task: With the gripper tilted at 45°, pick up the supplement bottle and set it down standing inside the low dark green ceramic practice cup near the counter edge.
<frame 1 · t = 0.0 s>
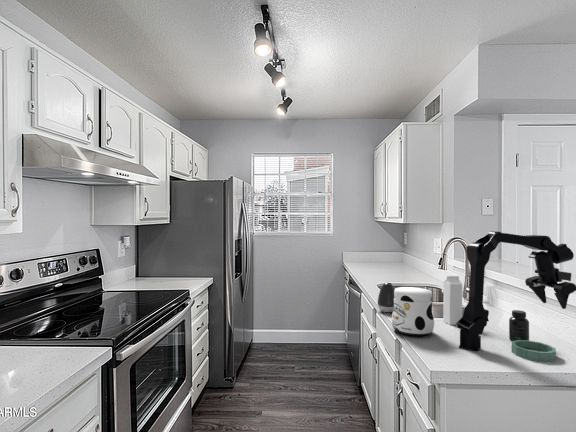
hand: (554, 305, 142), 15 cm above the counter, tool pointing down, fingers open, 9 cm apart
supplement bottle: (518, 341, 147), on the counter
black canister: (387, 311, 192), on the counter
milk container: (412, 332, 157), on the counter
milk: (452, 323, 172), on the counter
practice cup: (533, 354, 132), on the counter
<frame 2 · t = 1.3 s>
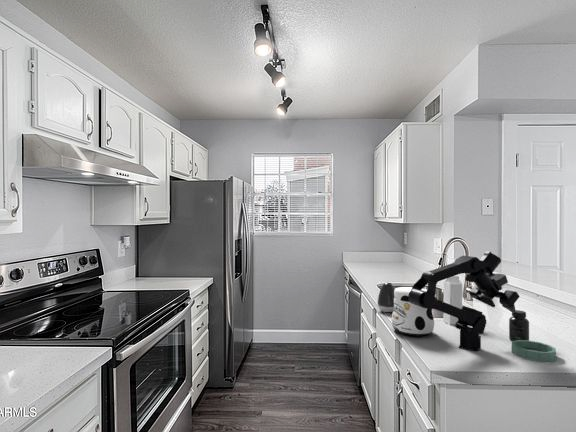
hand: (504, 309, 144), 13 cm above the counter, tool tilted 45°, fingers open, 9 cm apart
nothing on the counter moved.
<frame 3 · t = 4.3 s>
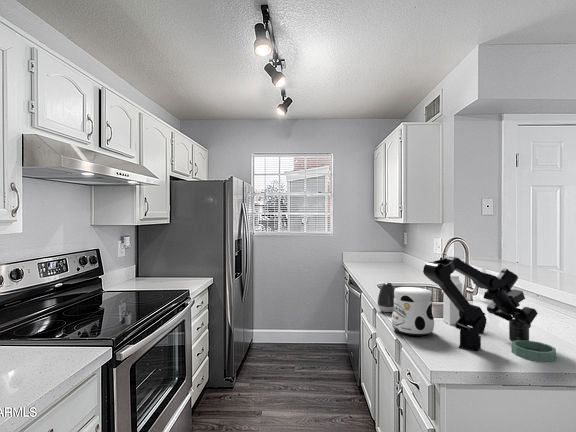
hand: (521, 324, 147), 7 cm above the counter, tool tilted 45°, fingers closed on supplement bottle, 7 cm apart
supplement bottle: (518, 341, 147), on the counter, touching gripper
everything else where it was.
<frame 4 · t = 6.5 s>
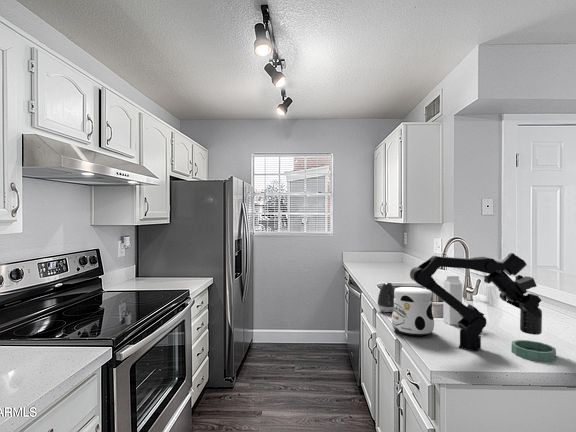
hand: (534, 314, 137), 13 cm above the counter, tool tilted 45°, fingers closed on supplement bottle, 7 cm apart
supplement bottle: (530, 332, 137), point 6 cm above the counter, touching gripper
everything else where it was.
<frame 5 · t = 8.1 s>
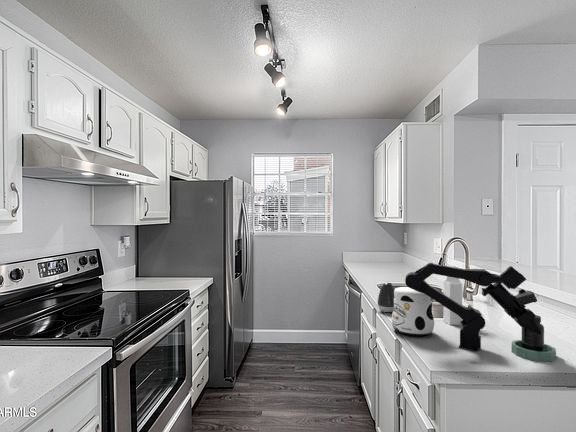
hand: (537, 330, 132), 9 cm above the counter, tool tilted 45°, fingers closed on supplement bottle, 7 cm apart
supplement bottle: (532, 349, 133), point 2 cm above the counter, touching gripper
everything else where it was.
when the fingers open (7 cm above the counter, at t = 9.0 s): supplement bottle stays where it is, resting on practice cup.
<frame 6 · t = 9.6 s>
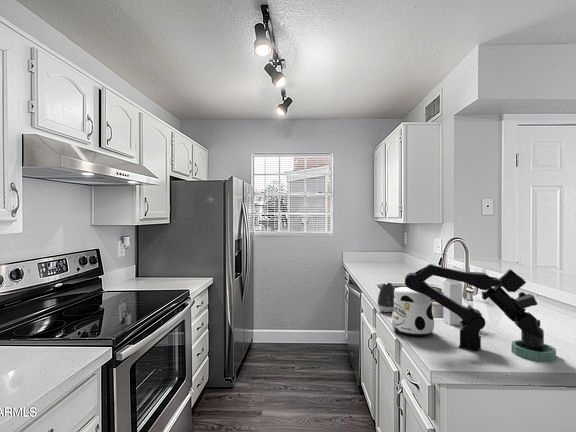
hand: (537, 333, 132), 8 cm above the counter, tool tilted 45°, fingers open, 9 cm apart
supplement bottle: (532, 353, 133), resting on practice cup
everything else where it was.
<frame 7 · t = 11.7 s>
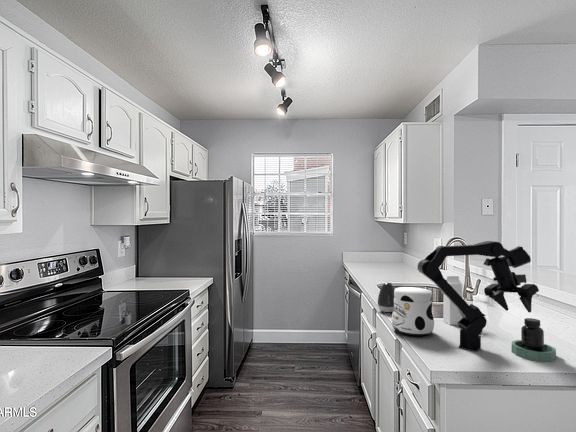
hand: (518, 311, 138), 14 cm above the counter, tool tilted 25°, fingers open, 9 cm apart
nothing on the counter moved.
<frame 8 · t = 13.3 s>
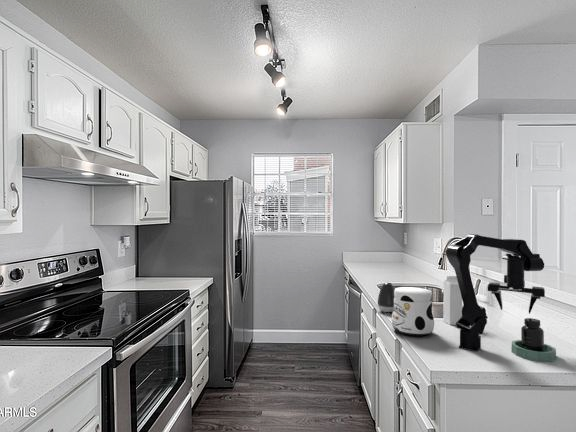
hand: (515, 311, 143), 13 cm above the counter, tool pointing down, fingers open, 9 cm apart
nothing on the counter moved.
at the end: supplement bottle 0.2 cm off-centre on the practice cup, point 0.3 cm above the practice cup's base; supplement bottle tilted 0°; the gripper is holding nothing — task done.
